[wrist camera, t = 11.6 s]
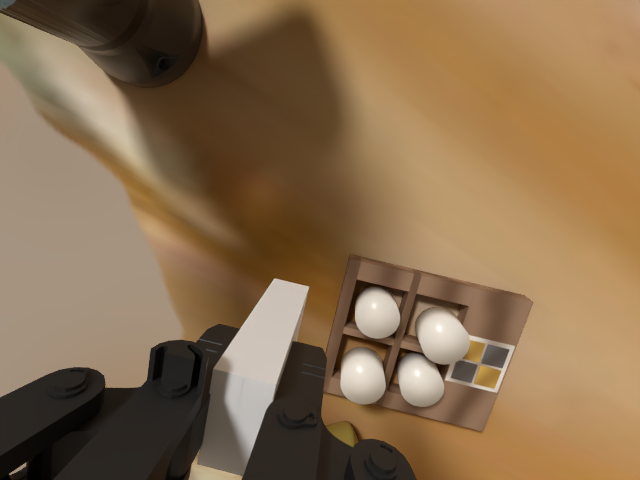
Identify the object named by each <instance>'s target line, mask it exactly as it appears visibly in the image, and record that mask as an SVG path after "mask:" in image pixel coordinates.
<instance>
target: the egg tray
mask: <svg viewBox="0 0 640 480" xmlns="http://www.w3.org/2000/svg"><path fill="white" fill-rule="evenodd" d="M356 280H361V281H366V282H370V283H374V284H378V285H382V286H387V287H391V288H395V289H399V290H403V291H404V294H403V297H402V301H401V304H400V308H399V313H400V323H399V326H398V328H397V329H396V331H395V332H394V333H393V334H391V335H390V336H388V337H385V338H380V339H375V338H371V337H368V336H366V335H364V334H363V333H362V332H361V331H360V330H359V329H358V327H357V325H356V322H354V321H350V320H346V319H347V315H348V311H349V307H350V303H351V299H352V296H353V292H354V288H355V284H356ZM416 294H420V295H425V296H429V297H433V298H437V299H441V300H446V301H450V302H454V303H458V304H462V305H461V308H460V310H459V313H458V316H457V319H458V320H459V321H460V323H461V324H462V326H463V327H464V328H465V330H466V331H467V333H468V335H469V338H470V346H469V350H468V352H467V353H466V355H465V356H464V357H463V358H462V359H461V360H459V361H457V362H455V363H452V364H445V365H444V364H441V367H440V370H439V373H440V376H441V378H442V380H443V383H444V393H443V395H442V397H441V398H440V400H439V401H438V402H436V403H435V404H433V405H430V406H426V407H418V406H414V405H412V404H410V403H408V402H407V401H406V400H405V399H404V398H403V396H402V394H401V390H400V386H399V384H395V383H391V382H390V379H391V376H392V373H393V369H394V366H395V363H396V359H397V356H398V353H399V349H400V348H404V349H409V350H413V351H417V352H421V353H424V352H423V350H422V348H421V345H420V343H419V340H418V338H417V337H416V336H412V335H407V334H404V333H405V330H406V326H407V323H408V320H409V316H410V313H411V310H412V306H413V303H414V300H415V297H416ZM532 305H533V302H532V301H531V300H530V299H528V298H527V297H526V296H524V295H521V294H516V293H512V292H508V291H504V290H499V289H495V288H491V287H487V286H482V285H478V284H474V283H470V282H465V281H461V280H457V279H453V278H448V277H444V276H440V275H436V274H431V273H427V272H423V271H419V270H414V269H410V268H406V267H402V266H397V265H393V264H389V263H385V262H380V261H376V260H372V259H368V258H363V257H359V256H355V255H351V254H350V256H349V260H348V264H347V268H346V272H345V276H344V281H343V285H342V289H341V293H340V297H339V301H338V305H337V309H336V313H335V317H334V321H333V325H332V329H331V333H330V337H329V341H328V345H327V349H326V353H325V355H326V357H327V364H326V373H325V381H324V390H323V392H327V393H331V394H335V395H339V396H343V397H345V395H344V394H343V392H342V390H341V386H340V381H341V370H339V369H335V368H334V365H335V362H336V358H337V354H338V350H339V346H340V342H341V338H342V334H347V335H351V336H355V337H359V338H363V339H368V340H372V341H376V342H380V343H384V344H388V348H387V352H386V355H385V359H384V362H383V370H384V376H385V382H386V388H385V391H384V394H383V395H382V397H381V398H380V399H379V400H377V401H376V402H373V403H371V404H375V405H379V406H383V407H387V408H391V409H395V410H399V411H403V412H407V413H411V414H415V415H419V416H423V417H427V418H431V419H435V420H439V421H443V422H447V423H451V424H455V425H459V426H463V427H467V428H471V429H475V430H479V431H484V428H485V426H486V423H487V421H488V418H489V415H490V413H491V410H492V408H493V405H494V403H495V400H496V397H497V395H498V392H499V390H500V387H501V384H502V382H503V379H504V377H505V374H506V372H507V369H508V366H509V364H510V361H511V359H512V356H513V354H514V351H515V348H516V346H517V343H518V341H519V338H520V335H521V333H522V330H523V328H524V325H525V323H526V320H527V317H528V315H529V312H530V310H531V307H532Z"/></svg>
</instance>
